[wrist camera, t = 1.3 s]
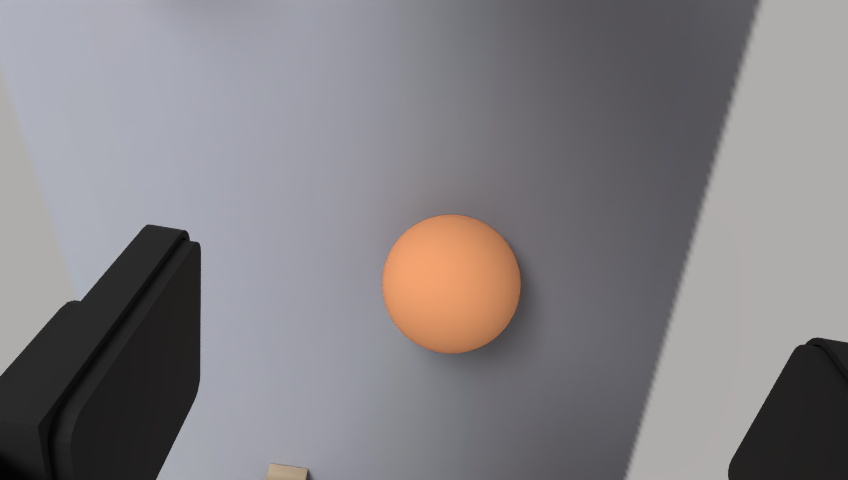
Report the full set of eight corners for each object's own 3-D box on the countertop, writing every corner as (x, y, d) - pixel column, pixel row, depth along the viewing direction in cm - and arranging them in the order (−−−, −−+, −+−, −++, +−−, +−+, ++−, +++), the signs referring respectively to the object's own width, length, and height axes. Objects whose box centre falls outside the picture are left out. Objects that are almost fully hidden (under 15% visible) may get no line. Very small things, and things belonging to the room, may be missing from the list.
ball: (397, 182, 28) (384, 245, 23) (528, 203, 28) (542, 271, 23) (381, 293, 31) (366, 370, 26) (501, 311, 31) (508, 392, 26)
